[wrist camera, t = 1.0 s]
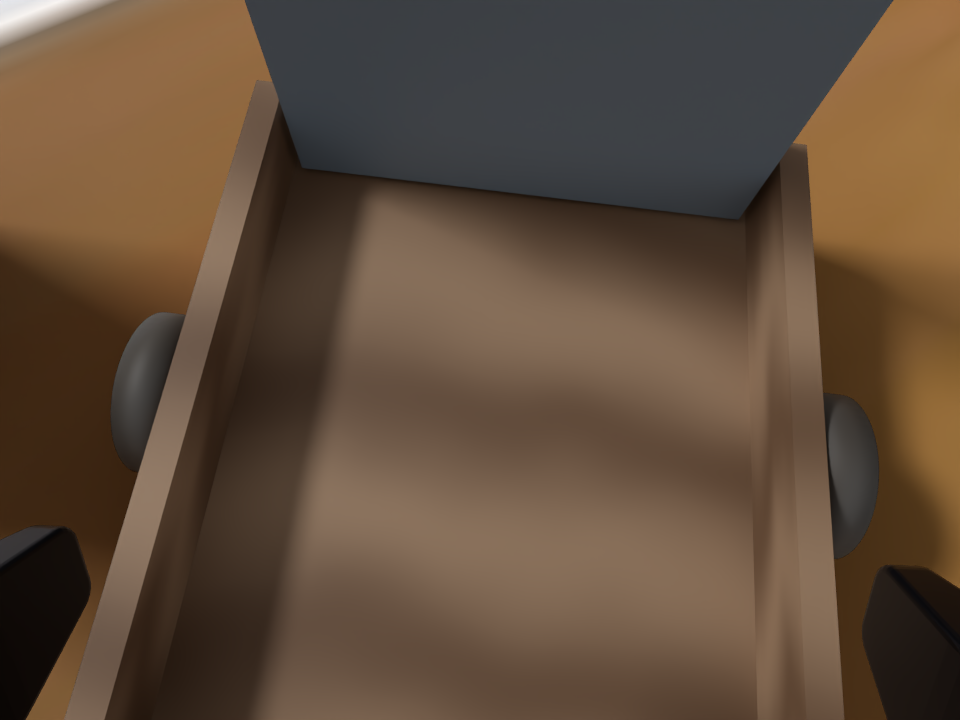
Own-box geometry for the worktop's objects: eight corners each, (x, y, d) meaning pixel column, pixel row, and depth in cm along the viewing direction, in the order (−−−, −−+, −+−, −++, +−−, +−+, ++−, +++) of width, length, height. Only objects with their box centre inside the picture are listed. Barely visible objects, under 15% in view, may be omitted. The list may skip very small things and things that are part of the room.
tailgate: (738, 222, 21) (967, -100, 12) (301, 170, 21) (177, -189, 12) (737, 184, 22) (956, -153, 12) (310, 134, 22) (198, -238, 12)
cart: (810, 840, 17) (924, 912, 13) (91, 747, 18) (-25, 787, 13) (781, 233, 24) (851, 150, 20) (255, 170, 24) (212, 75, 20)
